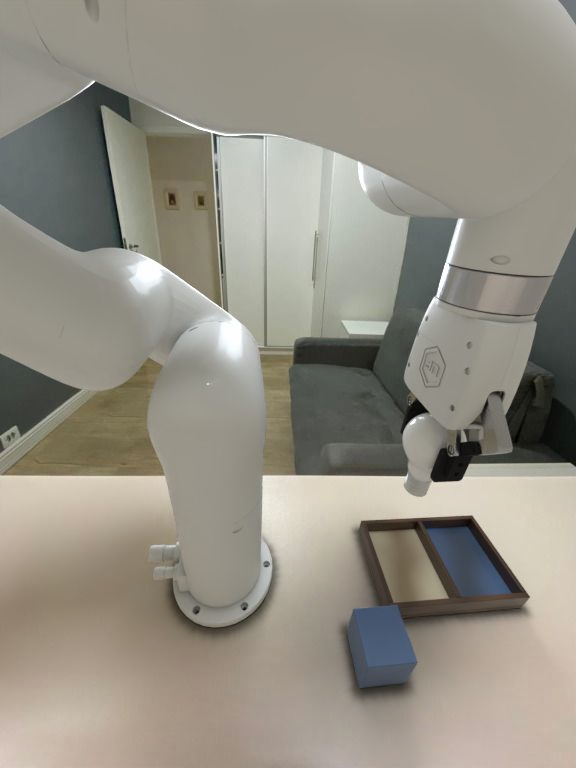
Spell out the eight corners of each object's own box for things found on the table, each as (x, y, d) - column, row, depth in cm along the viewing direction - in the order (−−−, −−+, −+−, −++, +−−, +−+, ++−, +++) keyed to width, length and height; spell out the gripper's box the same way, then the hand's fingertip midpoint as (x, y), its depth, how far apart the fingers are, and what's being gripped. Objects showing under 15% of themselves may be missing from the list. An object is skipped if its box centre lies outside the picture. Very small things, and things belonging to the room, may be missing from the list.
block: (358, 688, 31) (367, 667, 29) (346, 630, 36) (353, 608, 33) (405, 683, 32) (418, 662, 29) (387, 626, 36) (397, 604, 34)
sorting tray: (386, 619, 37) (390, 608, 36) (357, 531, 47) (360, 520, 46) (521, 608, 39) (530, 597, 38) (466, 525, 49) (472, 515, 48)
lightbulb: (385, 504, 35) (411, 428, 30) (387, 466, 41) (409, 396, 35) (445, 521, 34) (483, 444, 28) (438, 480, 39) (470, 408, 34)
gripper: (400, 271, 33) (369, 411, 41) (528, 325, 18) (436, 526, 26) (466, 274, 33) (422, 410, 42) (640, 327, 18) (516, 521, 27)
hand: (428, 454), depth 34 cm, fingers closed on lightbulb, 6 cm apart
